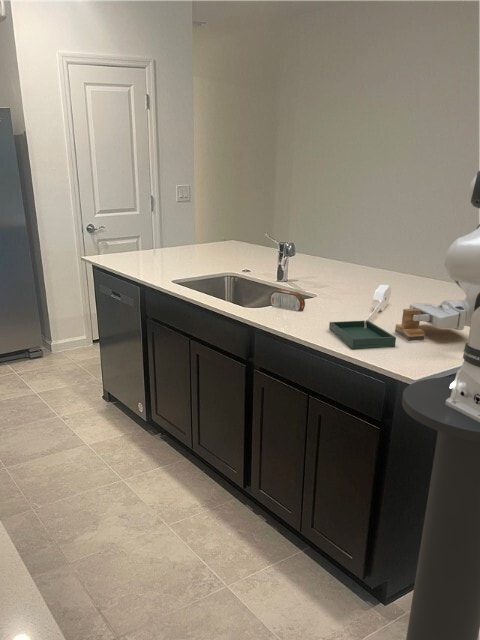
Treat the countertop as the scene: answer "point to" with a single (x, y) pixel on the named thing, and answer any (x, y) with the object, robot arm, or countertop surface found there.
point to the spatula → (379, 301)
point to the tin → (287, 300)
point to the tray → (362, 334)
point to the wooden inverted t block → (410, 326)
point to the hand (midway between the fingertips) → (408, 315)
